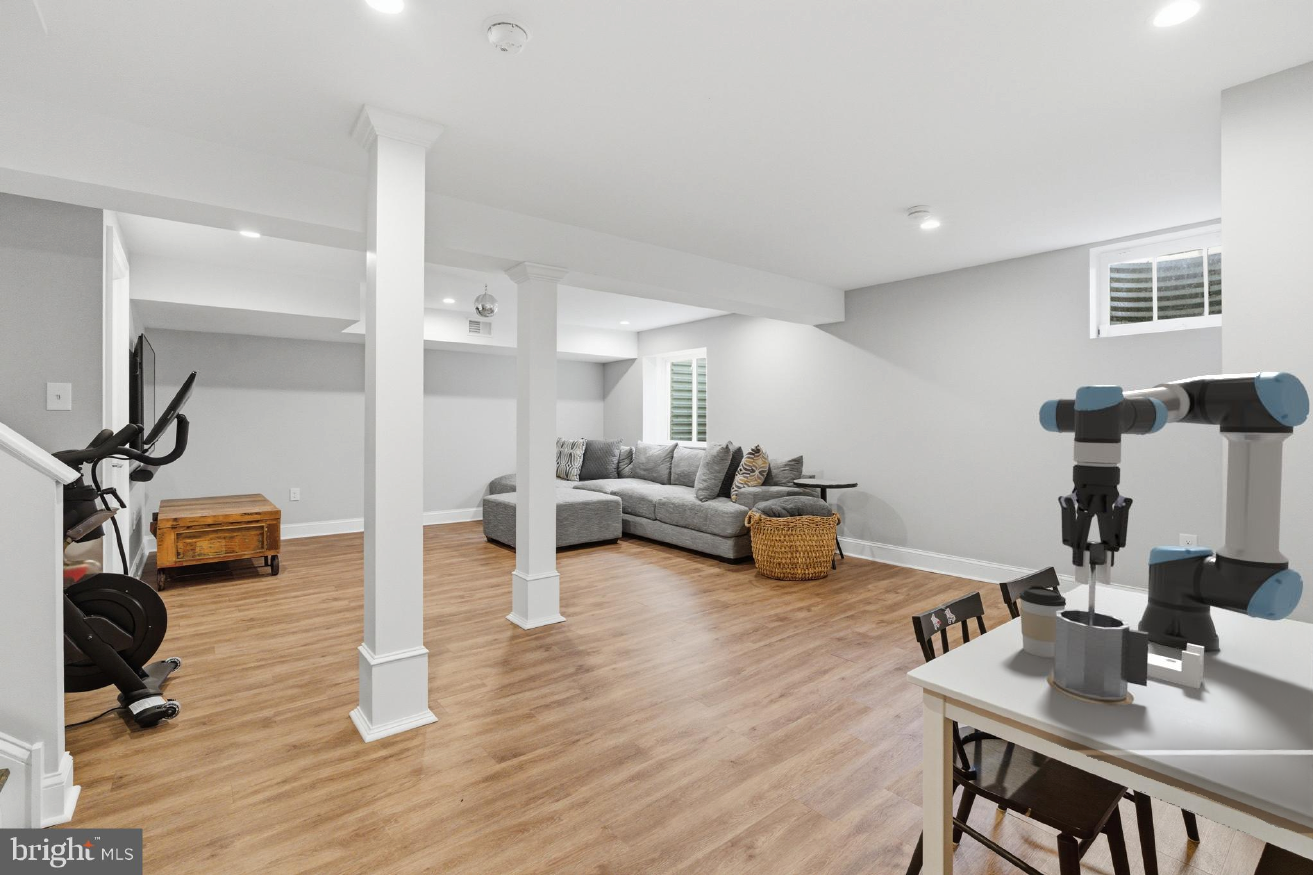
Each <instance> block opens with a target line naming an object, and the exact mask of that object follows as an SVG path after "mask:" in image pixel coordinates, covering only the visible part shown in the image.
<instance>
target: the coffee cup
mask: <svg viewBox="0 0 1313 875" xmlns="http://www.w3.org/2000/svg"><path fill="white" fill-rule="evenodd" d="M1019 599H1020V624H1021V625H1020V626H1021V628H1020V629H1021V635H1022V649H1023V651H1024V652H1026V653H1028V654H1030V655H1034V656H1037V657H1041V658H1042V657H1043V658H1054V642H1055V612H1056V611H1059V610H1063V609H1066V605H1067V602H1066V600H1067V599H1066V598H1065V596H1063V595H1062V594H1061V592H1060V591H1057V590H1054V589H1051V588H1046V587H1044V586H1042V585H1031V586H1029V587H1026V588H1025V589H1024V591H1021V592H1020V593H1019Z"/></svg>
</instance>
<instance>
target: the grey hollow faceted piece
mask: <svg viewBox="0 0 1313 875" xmlns="http://www.w3.org/2000/svg"><path fill="white" fill-rule="evenodd" d="M1148 637H1149V634H1148V632H1143V631H1138V629H1137V630H1136V629H1131V626H1130V625H1129V623H1128V621H1127V620H1124V619H1122V618H1119V617H1118V616H1114V615H1110V614H1107V613H1102V612H1097V611H1095V615H1094V626H1090V625H1088V610H1084V609H1073V608H1071V609H1067V608H1065V609H1063V610H1059V611H1056V612H1055V642H1054V657H1053V675H1054V678H1053V682H1054V684H1055V685H1056V686H1057V687H1058V688H1060V689H1061V690H1063V691H1065V692H1067V693H1070V694H1072V695H1075V696H1078V697H1081V698H1085V699H1089V700H1093V701H1100V702H1121V701H1124V700H1126V698H1127V691H1128V688H1129V687H1128V686H1129V685H1128V684H1133V685H1138V686H1142V687H1147V686H1148V676H1147V665H1148V653H1149V640H1148Z"/></svg>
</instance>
